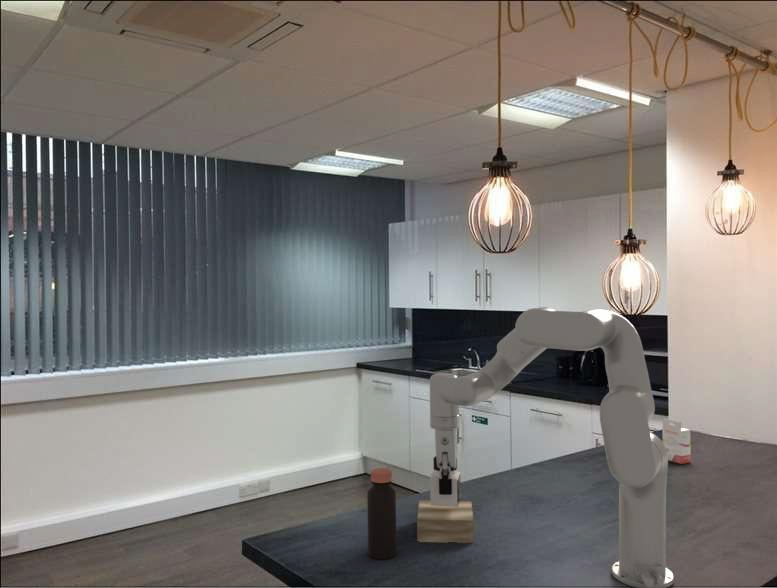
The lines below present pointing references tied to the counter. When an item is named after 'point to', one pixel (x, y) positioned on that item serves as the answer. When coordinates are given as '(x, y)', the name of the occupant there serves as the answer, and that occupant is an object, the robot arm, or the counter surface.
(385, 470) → the vinegar
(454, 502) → the medicine bottle
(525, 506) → the counter surface
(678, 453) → the ink cartridge box
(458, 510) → the birch block
